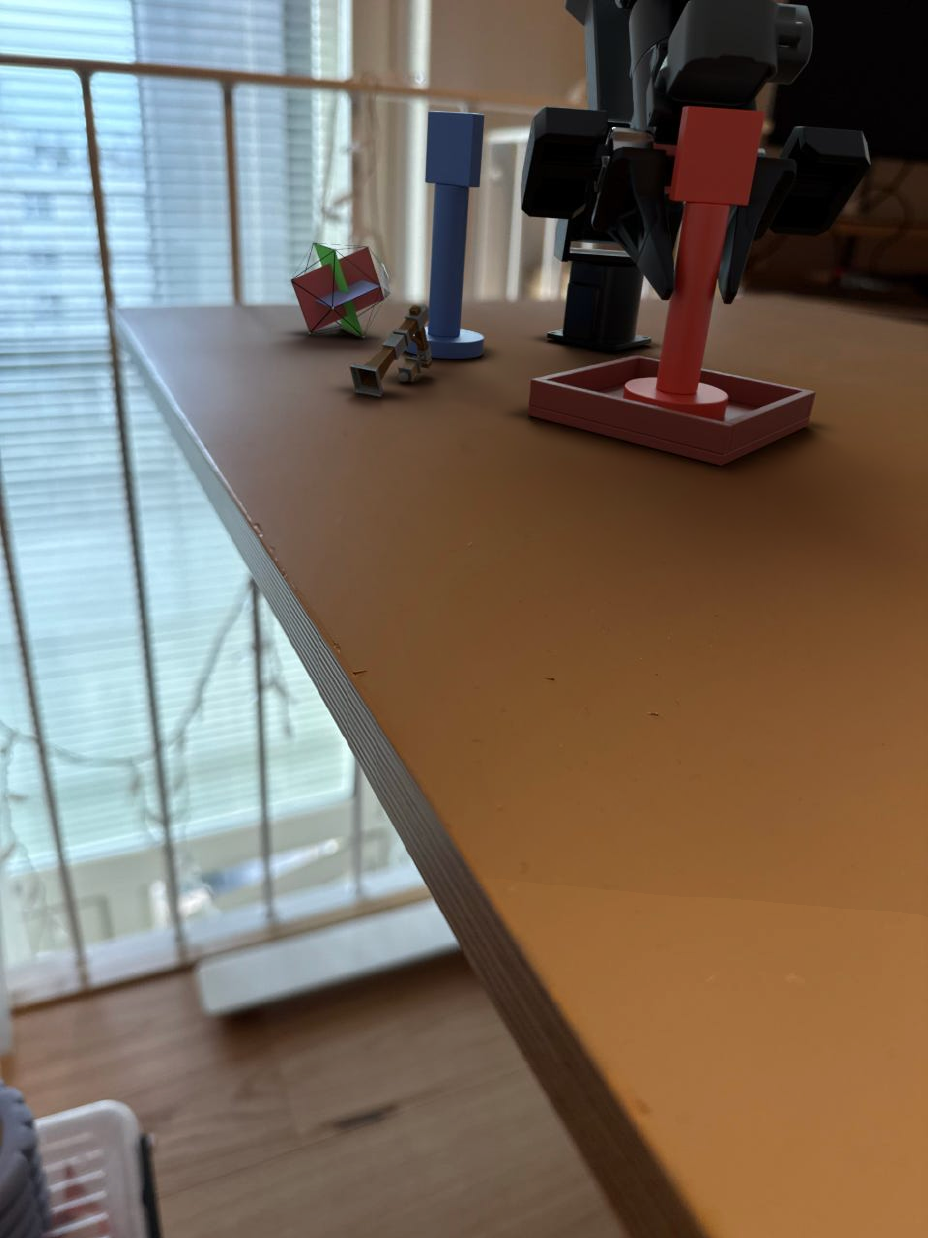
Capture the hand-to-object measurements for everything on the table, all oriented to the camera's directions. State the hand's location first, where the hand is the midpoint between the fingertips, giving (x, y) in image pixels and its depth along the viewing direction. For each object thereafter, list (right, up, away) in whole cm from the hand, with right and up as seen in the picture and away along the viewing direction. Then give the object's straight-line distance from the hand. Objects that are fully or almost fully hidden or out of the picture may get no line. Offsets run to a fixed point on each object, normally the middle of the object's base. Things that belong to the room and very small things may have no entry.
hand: (699, 297), depth 50 cm
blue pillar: (-14, +3, +19) cm, 24 cm away
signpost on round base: (0, -5, +4) cm, 7 cm away
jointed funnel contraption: (-17, -3, +8) cm, 19 cm away
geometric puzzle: (-23, +5, +22) cm, 32 cm away
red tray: (-1, -6, +5) cm, 7 cm away
